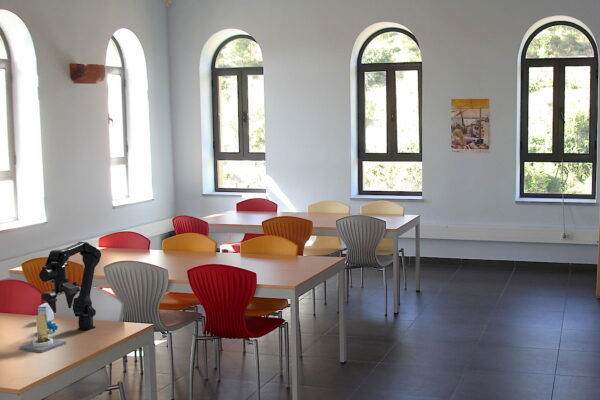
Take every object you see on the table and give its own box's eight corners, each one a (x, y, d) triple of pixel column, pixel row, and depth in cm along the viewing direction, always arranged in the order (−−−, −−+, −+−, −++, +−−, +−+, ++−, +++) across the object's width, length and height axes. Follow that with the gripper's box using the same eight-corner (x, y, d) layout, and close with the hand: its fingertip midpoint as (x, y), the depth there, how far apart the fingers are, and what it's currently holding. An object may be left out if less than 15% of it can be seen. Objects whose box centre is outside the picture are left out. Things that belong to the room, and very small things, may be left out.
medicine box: (46, 319, 397) (44, 302, 396) (54, 319, 396) (52, 302, 396) (38, 323, 389) (37, 306, 388) (47, 323, 389) (45, 306, 388)
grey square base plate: (44, 340, 356) (43, 335, 356) (66, 343, 350) (65, 337, 349) (19, 349, 344) (19, 343, 344) (42, 352, 337) (41, 346, 337)
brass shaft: (46, 341, 350) (44, 313, 349) (49, 344, 346) (47, 315, 345) (36, 343, 347) (34, 315, 346) (39, 345, 344) (37, 317, 343)
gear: (62, 327, 372) (48, 316, 366) (57, 338, 368) (43, 327, 362) (47, 328, 378) (33, 318, 371) (42, 339, 374) (27, 329, 368)
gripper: (57, 282, 345) (59, 316, 346) (87, 274, 361) (89, 307, 362) (39, 281, 350) (42, 315, 352) (69, 273, 366) (72, 305, 368)
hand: (62, 310), depth 358 cm, fingers open, 9 cm apart
